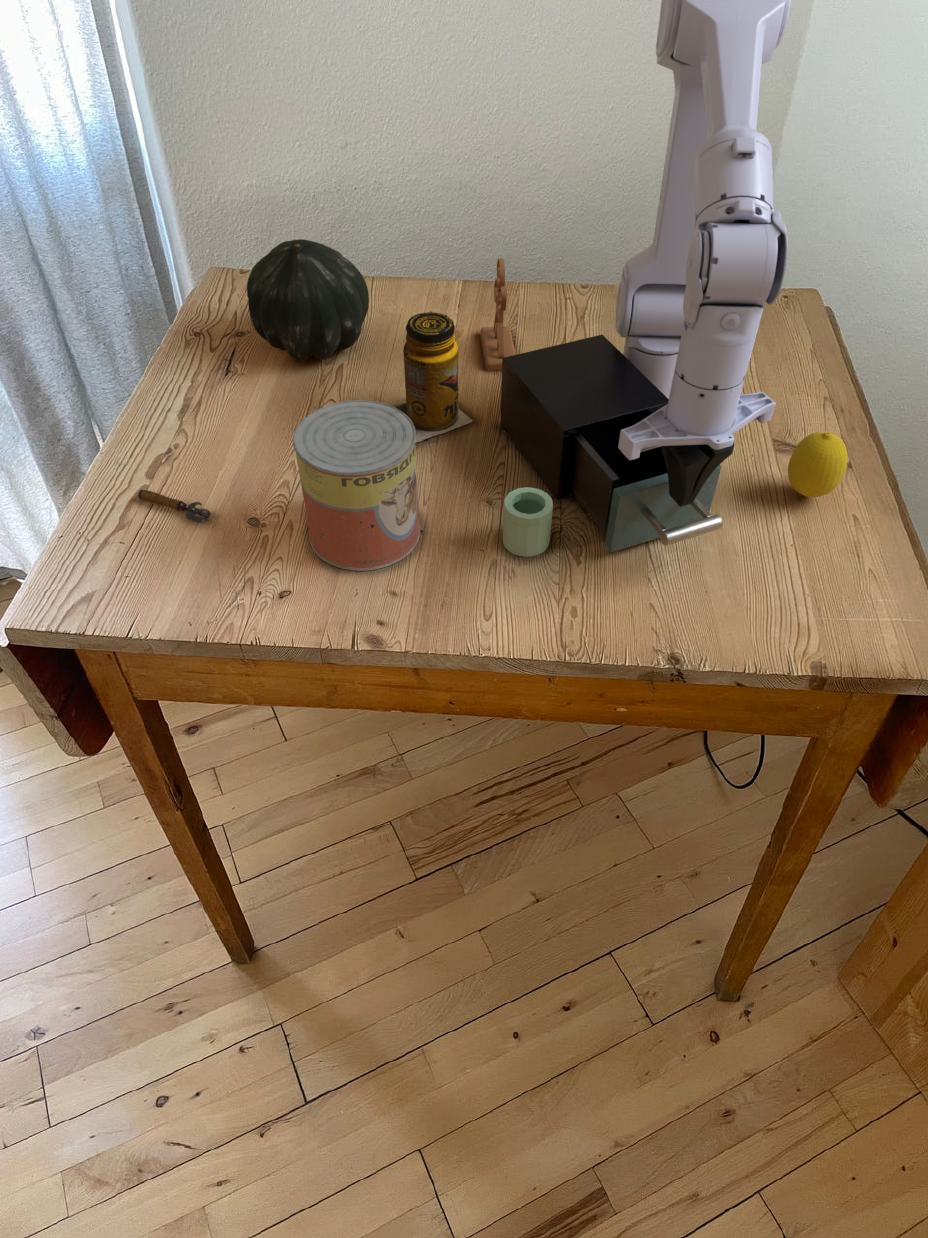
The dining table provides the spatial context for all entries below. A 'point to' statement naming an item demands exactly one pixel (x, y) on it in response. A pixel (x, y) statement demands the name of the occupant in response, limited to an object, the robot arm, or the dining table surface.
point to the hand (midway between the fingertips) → (680, 498)
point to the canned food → (359, 483)
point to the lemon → (817, 464)
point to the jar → (527, 521)
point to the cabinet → (568, 400)
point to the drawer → (632, 491)
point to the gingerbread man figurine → (497, 327)
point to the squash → (307, 299)
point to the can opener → (176, 505)
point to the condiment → (431, 376)
